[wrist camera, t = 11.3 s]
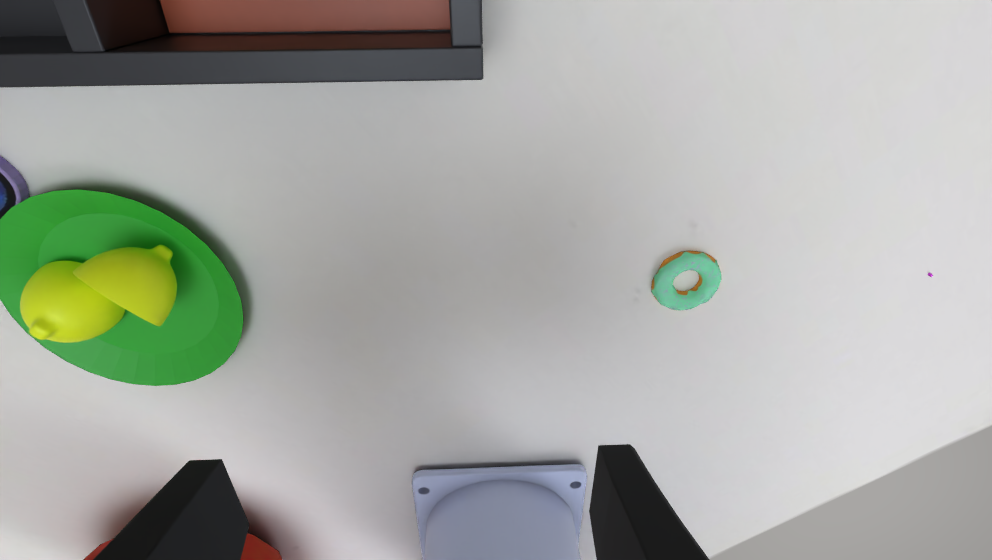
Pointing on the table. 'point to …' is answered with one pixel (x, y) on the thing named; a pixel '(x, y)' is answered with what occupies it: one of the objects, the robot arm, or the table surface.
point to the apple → (255, 553)
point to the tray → (237, 41)
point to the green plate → (117, 288)
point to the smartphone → (11, 187)
